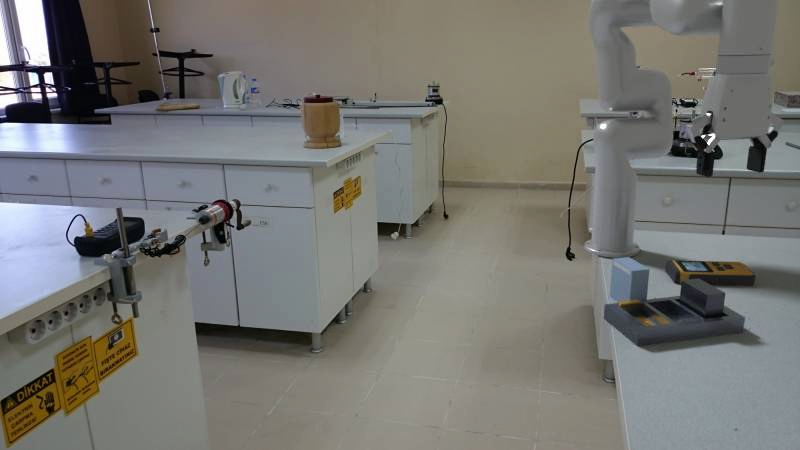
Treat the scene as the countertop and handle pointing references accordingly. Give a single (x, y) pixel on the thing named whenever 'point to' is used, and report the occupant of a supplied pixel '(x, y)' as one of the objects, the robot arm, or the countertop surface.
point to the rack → (675, 315)
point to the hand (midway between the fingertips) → (729, 173)
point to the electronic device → (711, 272)
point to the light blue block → (628, 280)
